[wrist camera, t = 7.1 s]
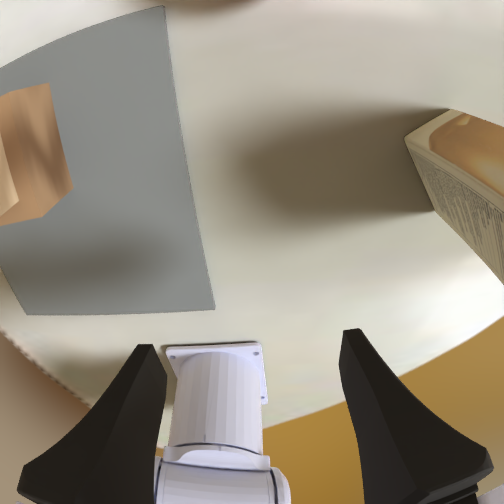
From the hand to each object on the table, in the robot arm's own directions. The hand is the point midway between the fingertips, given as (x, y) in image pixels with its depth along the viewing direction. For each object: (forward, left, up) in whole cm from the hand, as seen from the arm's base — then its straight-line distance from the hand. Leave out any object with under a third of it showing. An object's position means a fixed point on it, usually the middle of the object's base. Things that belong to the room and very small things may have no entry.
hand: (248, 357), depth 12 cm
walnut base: (+8, +14, -10) cm, 19 cm away
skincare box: (+4, -13, -10) cm, 17 cm away
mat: (+4, +12, -10) cm, 16 cm away
